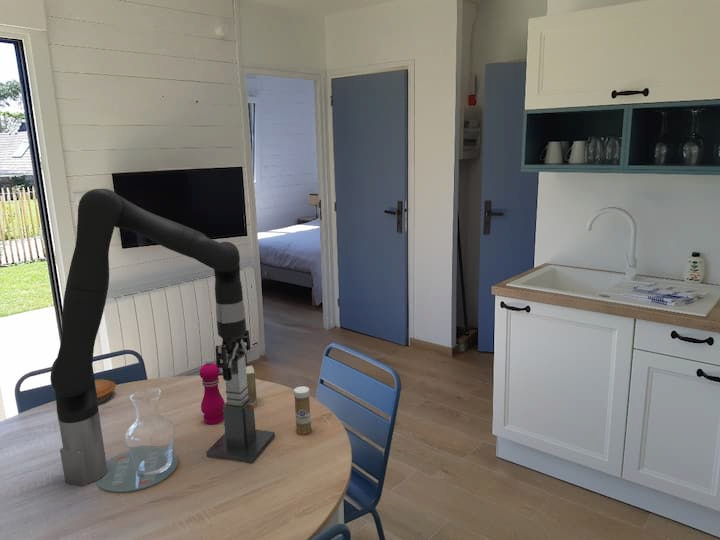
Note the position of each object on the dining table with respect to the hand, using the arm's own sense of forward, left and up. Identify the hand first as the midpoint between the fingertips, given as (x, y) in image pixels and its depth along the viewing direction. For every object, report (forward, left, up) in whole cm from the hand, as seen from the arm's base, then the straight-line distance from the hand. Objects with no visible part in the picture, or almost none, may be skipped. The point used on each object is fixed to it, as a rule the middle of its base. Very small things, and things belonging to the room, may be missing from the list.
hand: (235, 373), depth 149 cm
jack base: (0, 0, -22) cm, 22 cm away
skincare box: (+24, +10, -22) cm, 34 cm away
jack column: (0, 0, -15) cm, 15 cm away
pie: (+15, +65, -22) cm, 70 cm away
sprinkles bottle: (+12, -14, -22) cm, 29 cm away
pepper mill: (+12, +16, -22) cm, 30 cm away
